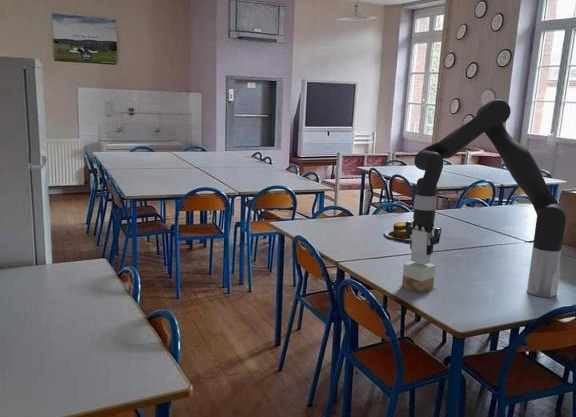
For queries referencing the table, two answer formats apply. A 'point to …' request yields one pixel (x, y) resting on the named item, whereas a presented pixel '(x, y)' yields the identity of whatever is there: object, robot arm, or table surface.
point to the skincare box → (420, 247)
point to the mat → (417, 292)
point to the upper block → (418, 271)
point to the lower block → (417, 284)
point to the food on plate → (398, 231)
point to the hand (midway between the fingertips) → (420, 252)
